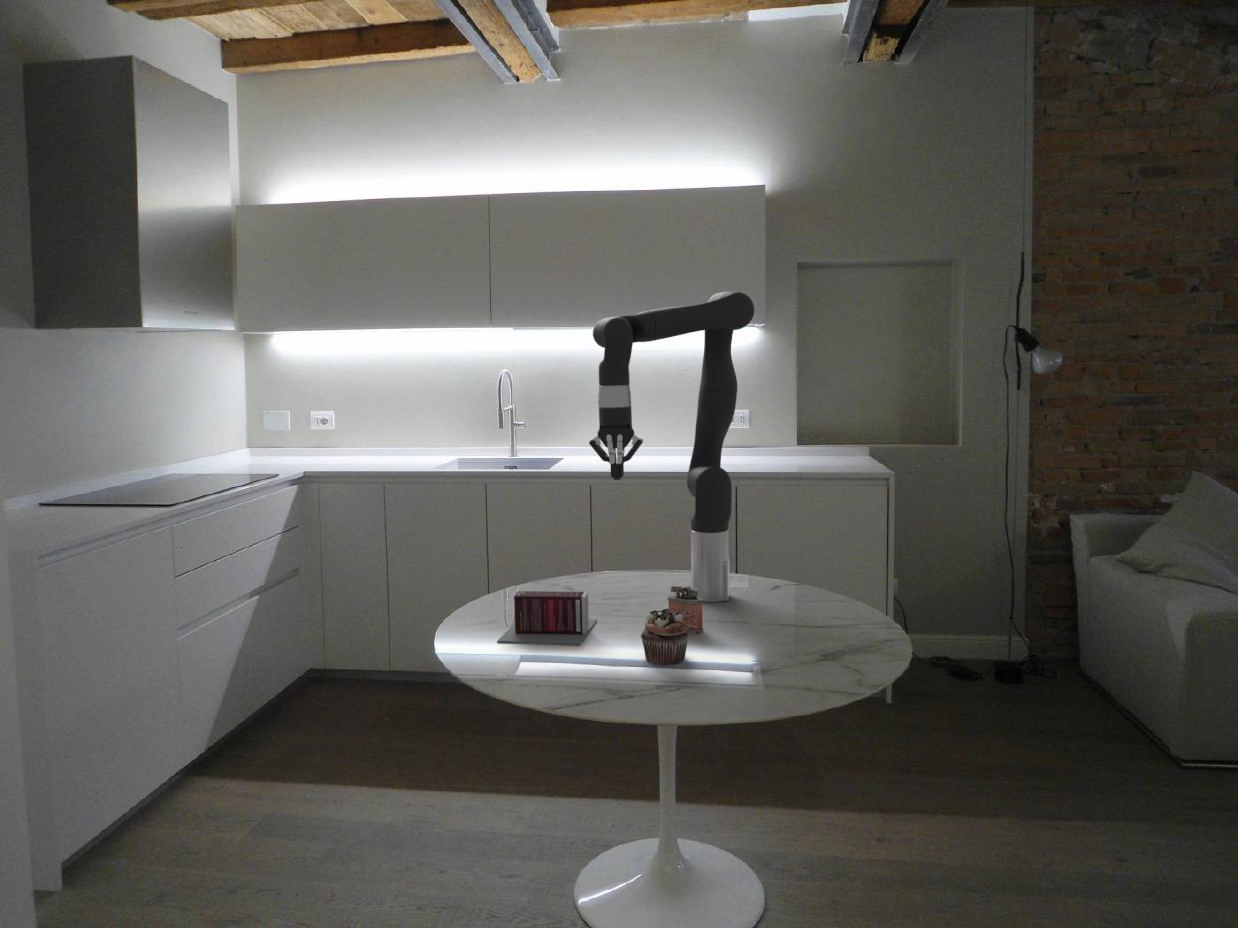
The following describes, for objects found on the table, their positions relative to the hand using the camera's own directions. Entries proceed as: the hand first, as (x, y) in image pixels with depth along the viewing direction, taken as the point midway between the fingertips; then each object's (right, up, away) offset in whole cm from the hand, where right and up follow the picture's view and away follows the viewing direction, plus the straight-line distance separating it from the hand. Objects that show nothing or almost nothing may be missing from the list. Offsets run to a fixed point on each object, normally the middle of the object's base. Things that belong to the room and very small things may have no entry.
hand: (617, 479), depth 217 cm
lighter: (+15, -33, -12) cm, 38 cm away
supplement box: (-6, -29, -13) cm, 32 cm away
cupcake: (+10, -36, -30) cm, 48 cm away
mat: (-15, -34, -10) cm, 38 cm away
